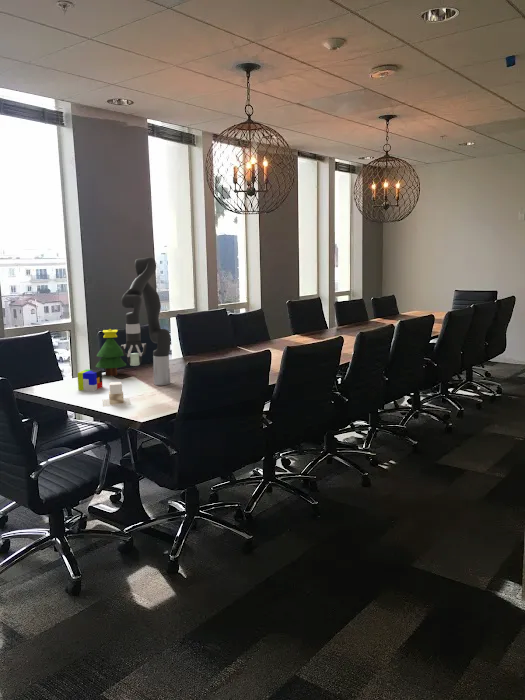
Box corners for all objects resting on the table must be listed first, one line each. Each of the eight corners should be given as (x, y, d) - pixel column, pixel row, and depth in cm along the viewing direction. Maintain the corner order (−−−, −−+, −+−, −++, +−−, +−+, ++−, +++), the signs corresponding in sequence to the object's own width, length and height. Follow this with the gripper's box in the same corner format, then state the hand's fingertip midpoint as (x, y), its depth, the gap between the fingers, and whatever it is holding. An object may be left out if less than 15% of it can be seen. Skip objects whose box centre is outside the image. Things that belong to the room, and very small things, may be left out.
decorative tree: (95, 378, 368) (93, 330, 363) (96, 372, 387) (94, 326, 382) (127, 377, 372) (125, 329, 367) (126, 371, 391) (125, 326, 386)
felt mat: (129, 398, 319) (129, 397, 319) (131, 405, 306) (131, 404, 306) (102, 400, 315) (102, 399, 315) (102, 407, 302) (102, 406, 302)
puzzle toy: (94, 390, 337) (93, 373, 335) (78, 390, 339) (77, 372, 337) (102, 386, 347) (101, 370, 345) (86, 386, 349) (85, 369, 347)
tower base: (122, 399, 315) (122, 390, 314) (123, 403, 308) (123, 393, 307) (109, 400, 313) (108, 391, 312) (109, 404, 306) (109, 394, 305)
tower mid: (121, 391, 313) (121, 381, 312) (122, 393, 307) (121, 384, 307) (109, 391, 311) (109, 382, 311) (110, 394, 306) (109, 384, 305)
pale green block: (139, 363, 323) (138, 352, 322) (140, 365, 318) (139, 354, 317) (129, 364, 322) (129, 353, 321) (130, 366, 317) (130, 355, 316)
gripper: (146, 330, 322) (147, 361, 326) (119, 331, 318) (120, 362, 322) (147, 332, 315) (149, 363, 318) (119, 333, 311) (121, 365, 314)
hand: (134, 363), depth 320 cm, fingers closed on pale green block, 5 cm apart
